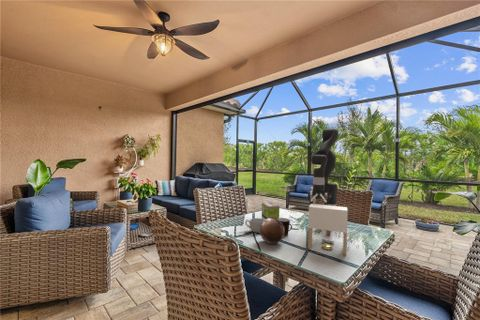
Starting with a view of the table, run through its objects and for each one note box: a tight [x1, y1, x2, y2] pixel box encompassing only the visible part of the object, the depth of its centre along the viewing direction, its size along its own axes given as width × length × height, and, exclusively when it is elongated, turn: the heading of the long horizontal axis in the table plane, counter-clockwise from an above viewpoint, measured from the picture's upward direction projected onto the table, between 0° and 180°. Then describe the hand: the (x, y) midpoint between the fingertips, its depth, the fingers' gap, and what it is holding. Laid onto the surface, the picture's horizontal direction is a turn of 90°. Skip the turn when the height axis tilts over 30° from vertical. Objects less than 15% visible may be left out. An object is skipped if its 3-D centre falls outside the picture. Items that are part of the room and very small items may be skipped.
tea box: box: [261, 201, 280, 220], centre depth 184 cm, size 15×10×15 cm
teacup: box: [244, 217, 264, 234], centre depth 160 cm, size 14×11×8 cm
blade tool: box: [321, 230, 335, 246], centre depth 149 cm, size 22×7×6 cm, turn 157°
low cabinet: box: [307, 203, 348, 256], centre depth 131 cm, size 10×20×24 cm, turn 67°
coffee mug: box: [278, 217, 293, 237], centre depth 153 cm, size 12×9×10 cm
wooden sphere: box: [259, 218, 285, 245], centre depth 138 cm, size 15×15×15 cm
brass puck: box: [321, 243, 334, 251], centre depth 132 cm, size 6×6×2 cm
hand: (318, 207), depth 157 cm, fingers open, 8 cm apart
